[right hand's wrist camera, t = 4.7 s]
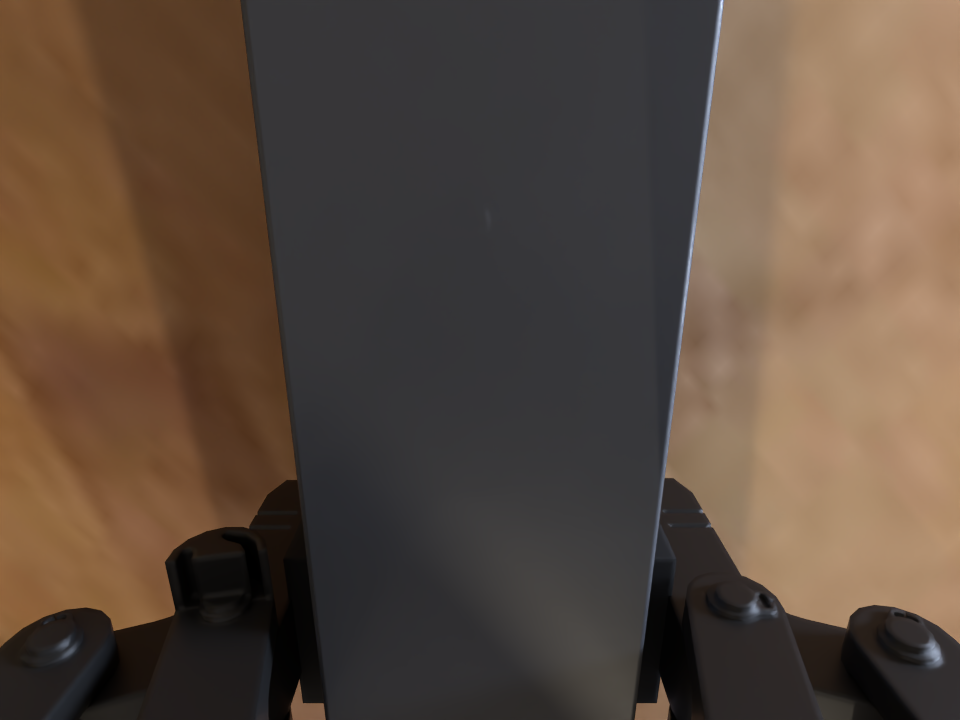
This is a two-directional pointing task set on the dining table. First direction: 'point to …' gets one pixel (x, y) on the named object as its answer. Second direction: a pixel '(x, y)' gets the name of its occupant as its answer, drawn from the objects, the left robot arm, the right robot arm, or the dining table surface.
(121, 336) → the dining table surface
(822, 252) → the dining table surface
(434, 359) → the bar
